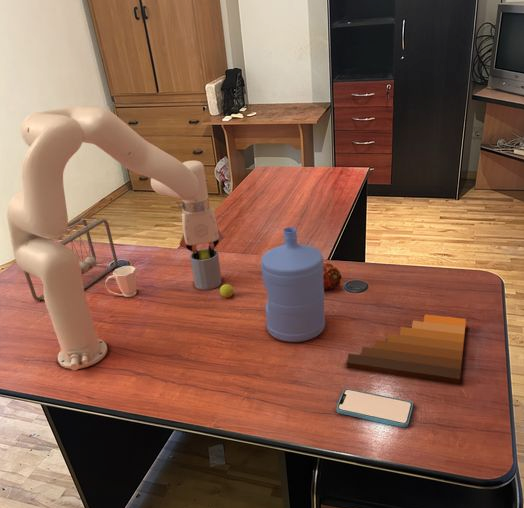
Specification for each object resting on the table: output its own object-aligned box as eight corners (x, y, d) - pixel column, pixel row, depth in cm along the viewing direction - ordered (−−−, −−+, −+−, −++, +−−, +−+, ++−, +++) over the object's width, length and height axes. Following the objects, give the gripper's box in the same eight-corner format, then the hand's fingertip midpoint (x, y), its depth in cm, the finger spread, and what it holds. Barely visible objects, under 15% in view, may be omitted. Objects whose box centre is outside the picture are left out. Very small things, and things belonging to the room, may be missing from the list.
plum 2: (235, 298, 162) (233, 286, 160) (222, 301, 162) (220, 289, 160) (232, 292, 166) (231, 280, 164) (219, 294, 165) (218, 283, 163)
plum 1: (212, 263, 167) (210, 251, 165) (199, 265, 166) (197, 254, 164) (210, 258, 170) (208, 246, 168) (197, 260, 170) (195, 248, 168)
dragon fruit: (343, 296, 161) (306, 296, 167) (348, 270, 164) (311, 271, 169) (335, 283, 154) (296, 283, 160) (339, 256, 157) (301, 258, 162)
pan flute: (347, 369, 128) (458, 386, 120) (346, 358, 127) (460, 374, 118) (367, 315, 148) (464, 326, 140) (367, 304, 146) (466, 315, 138)
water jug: (337, 324, 146) (335, 225, 131) (298, 351, 137) (292, 248, 122) (293, 306, 155) (288, 213, 141) (254, 330, 146) (244, 233, 132)
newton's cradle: (59, 308, 166) (42, 255, 157) (34, 303, 170) (16, 251, 161) (119, 265, 189) (107, 217, 180) (95, 262, 193) (82, 214, 184)
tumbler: (224, 286, 169) (220, 257, 164) (196, 291, 168) (192, 262, 163) (219, 274, 176) (215, 246, 171) (192, 279, 175) (188, 251, 170)
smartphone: (407, 425, 110) (335, 409, 115) (407, 429, 111) (335, 413, 116) (413, 401, 116) (344, 387, 121) (413, 406, 116) (344, 391, 122)
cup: (142, 296, 168) (137, 272, 164) (109, 303, 166) (103, 279, 162) (139, 286, 174) (134, 263, 170) (107, 293, 172) (101, 270, 168)
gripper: (169, 214, 154) (179, 271, 164) (226, 204, 157) (233, 261, 167) (166, 205, 160) (176, 261, 170) (221, 196, 163) (228, 252, 173)
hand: (204, 261), depth 168 cm, fingers closed on plum 1, 3 cm apart
